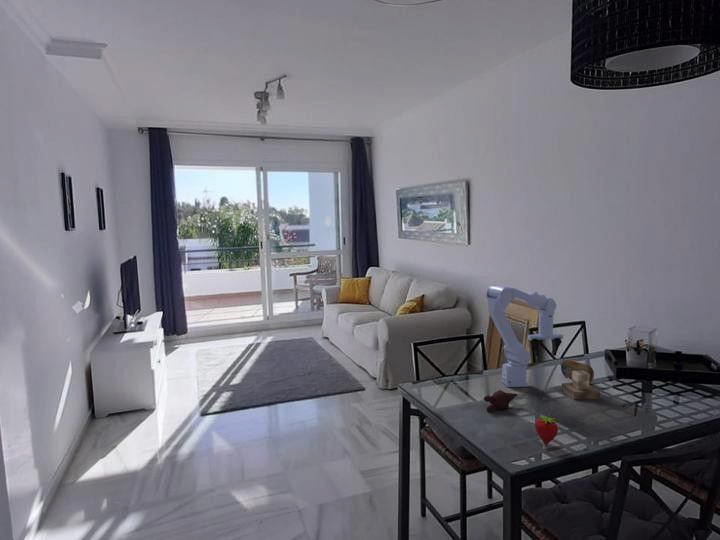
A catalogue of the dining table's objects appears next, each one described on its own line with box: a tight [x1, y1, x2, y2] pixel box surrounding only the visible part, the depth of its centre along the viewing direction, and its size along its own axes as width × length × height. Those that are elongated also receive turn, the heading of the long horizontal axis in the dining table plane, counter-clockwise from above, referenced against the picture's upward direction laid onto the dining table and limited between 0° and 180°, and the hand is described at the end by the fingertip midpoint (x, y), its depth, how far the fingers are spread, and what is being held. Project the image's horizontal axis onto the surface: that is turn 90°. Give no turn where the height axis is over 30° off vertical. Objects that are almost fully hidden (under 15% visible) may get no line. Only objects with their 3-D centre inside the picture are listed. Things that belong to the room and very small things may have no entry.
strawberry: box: [534, 413, 559, 445], centre depth 144 cm, size 6×8×10 cm
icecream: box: [483, 389, 518, 413], centre depth 172 cm, size 7×7×15 cm
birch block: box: [571, 371, 590, 390], centre depth 183 cm, size 4×4×6 cm
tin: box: [560, 359, 595, 384], centre depth 200 cm, size 15×3×8 cm, turn 25°
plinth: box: [561, 382, 601, 400], centre depth 184 cm, size 10×10×3 cm
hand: (545, 355), depth 202 cm, fingers open, 7 cm apart
